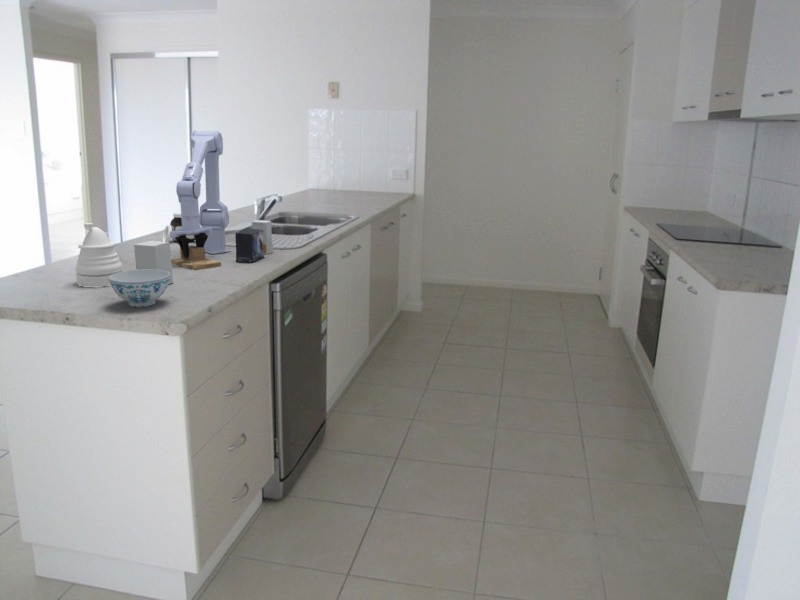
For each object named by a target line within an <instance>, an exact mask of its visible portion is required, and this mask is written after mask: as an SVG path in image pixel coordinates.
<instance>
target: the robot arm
mask: <svg viewBox="0 0 800 600" xmlns="http://www.w3.org/2000/svg"><path fill="white" fill-rule="evenodd" d="M223 140H224V139H223V136H222V133H221V132H220V131H219V130H215V131H214V130H212V131H211V130H210V131H209V130H206V131H205V130H192V132H191V134H190V145H191V147H192V148H191V149H192V153H191V159H190V162H189V163H187V164H186V165H185V167H184V171H183V172H184V173H183V175H182V178H181V180H180V181H178V182H177V183H176V188H175V189H176V195H177V199H178V203H180V212H181V219H182V229H181V230H176V231H170V237H172V238H175V239H176V241H177V242H178V243H177V244H178V246H179V248H181V250H182V253H183V256H184V257H185V258H189V250H188V246H190V245H189V244H190V243H189V238H187V237H186V236H190V235H194V238H195V241H194V242H195V246H197V247H202V248H205V254H212V255H215V254H216V255H217V254H223V253H228V252H231V249H227V246H226V245H227V244H226V229H225V228H227V227H228V226H229V223H230V214H229V210H228V206H227V205H225V203H223V202H222V201H221V199H220V198H221V196H220V193H221V192H220V166H219V165H220V162H219V161H220V156H221V155H223V153H224V141H223ZM203 163H204V168H203V166H202V165H203ZM203 173H204V175H205V177H204V178H205V179H204V180H205V202H204V203H202V204H201V205H200V207H199V198H200V195H201V187H202V186H201V185H202V184H201V180H202V176H203ZM188 233H192V234H188ZM172 238H171V239H172Z"/></svg>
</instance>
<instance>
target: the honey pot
mask: <svg viewBox="0 0 800 600" xmlns="http://www.w3.org/2000/svg"><path fill="white" fill-rule="evenodd" d="M83 227H84V229H86V230H87V232H86V234H85V236H84V239H83V240H82V242H81V243H78V245H77V247H78V248H79V249H80V250H79V254H78V255H77V257H78V258H77V260H76V265H75V279H76V285H77V284H78V285H81V286H92V287H93V286H107V285H111V283H110V280H109V276H111V275H112V274H115V273H119V272H123V271H124V270H123V269H124V268H123V262H121V261H120V260H121V259H120V257H119V255H118V254H119V253H118V252H117V251H116V248H115V246H116V243H115V242H114V241H111V240H110V238H109V236H108V234H106V232H105V231H104V230H103V229H101V228H100V227H98V226H94V223H93V222H86V223H83ZM78 285H77V286H78Z"/></svg>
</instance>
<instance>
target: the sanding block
mask: <svg viewBox="0 0 800 600" xmlns="http://www.w3.org/2000/svg"><path fill="white" fill-rule="evenodd" d="M179 248H180V247H179ZM188 250H189V258H185V257H184V256H183V253H182V250H181V248H180V249H179V252H180V258H181V260H184V261H187V262H191V263H198V262H204V261H205V258H206V252H205V248H202V247H197V246H196V245H193V244H191V245H189V246H188Z"/></svg>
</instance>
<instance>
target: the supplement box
mask: <svg viewBox="0 0 800 600" xmlns="http://www.w3.org/2000/svg"><path fill="white" fill-rule="evenodd" d="M133 249H134V256H135V257H134V258H135V268H136V269H135V270H141V269H155V270H164V271H167V272H169V273H170V278H169V283H168V284H169V285H172V284H174V277H173V276H174V275H173V274H174V273H173V264H172V263H171V259H172V254H171V242H170V241H169V242H163V241H159V240H158V241H157V240H147V241H143V242H139V243H134V244H133ZM171 283H172V284H171Z"/></svg>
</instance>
